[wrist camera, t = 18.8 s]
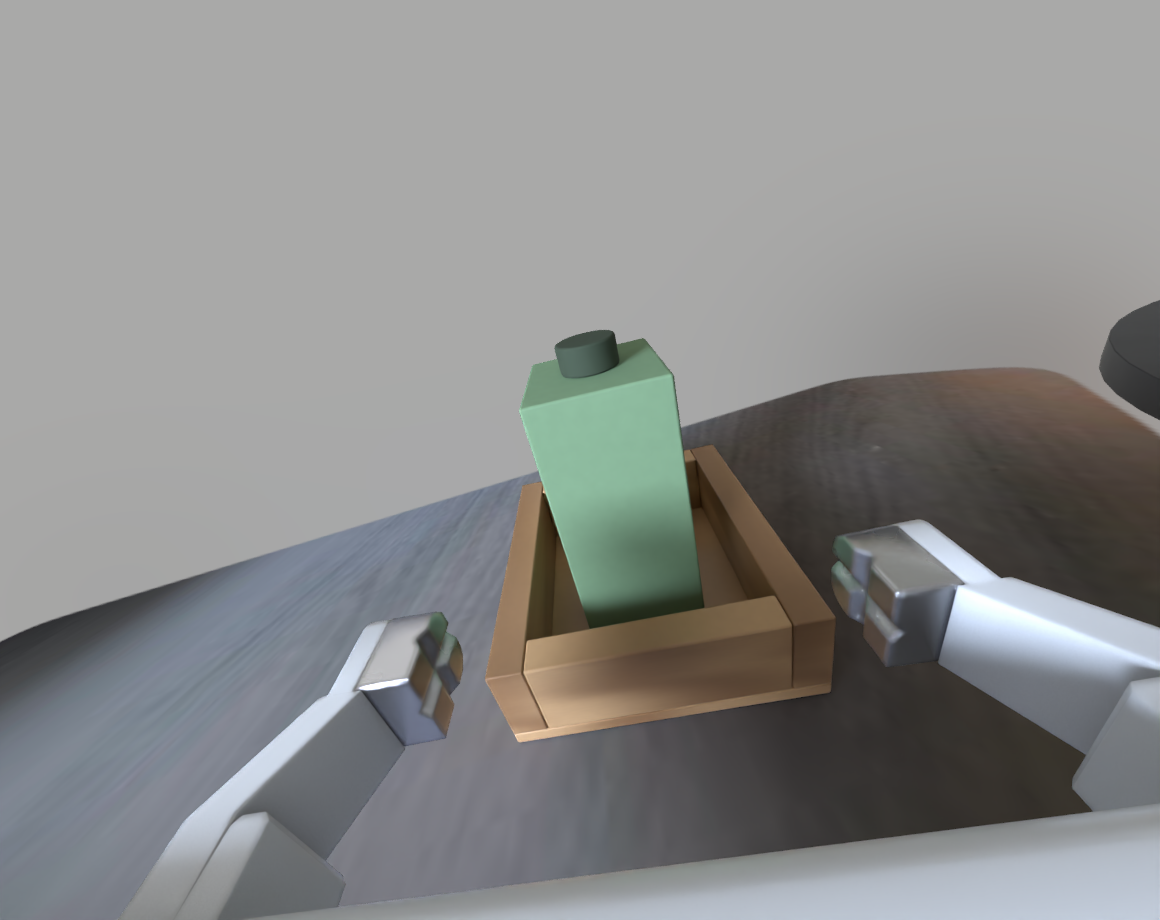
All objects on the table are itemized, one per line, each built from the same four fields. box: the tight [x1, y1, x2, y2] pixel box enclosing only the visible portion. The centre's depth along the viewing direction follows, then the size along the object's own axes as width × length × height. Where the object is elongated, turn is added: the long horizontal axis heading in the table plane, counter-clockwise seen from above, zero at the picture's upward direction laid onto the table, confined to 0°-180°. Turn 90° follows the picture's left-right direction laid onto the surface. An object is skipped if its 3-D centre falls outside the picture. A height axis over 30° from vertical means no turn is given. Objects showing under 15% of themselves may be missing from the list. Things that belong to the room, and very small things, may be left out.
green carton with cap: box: [519, 330, 705, 629], centre depth 16 cm, size 4×5×11 cm
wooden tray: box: [485, 445, 836, 742], centre depth 18 cm, size 10×11×4 cm
